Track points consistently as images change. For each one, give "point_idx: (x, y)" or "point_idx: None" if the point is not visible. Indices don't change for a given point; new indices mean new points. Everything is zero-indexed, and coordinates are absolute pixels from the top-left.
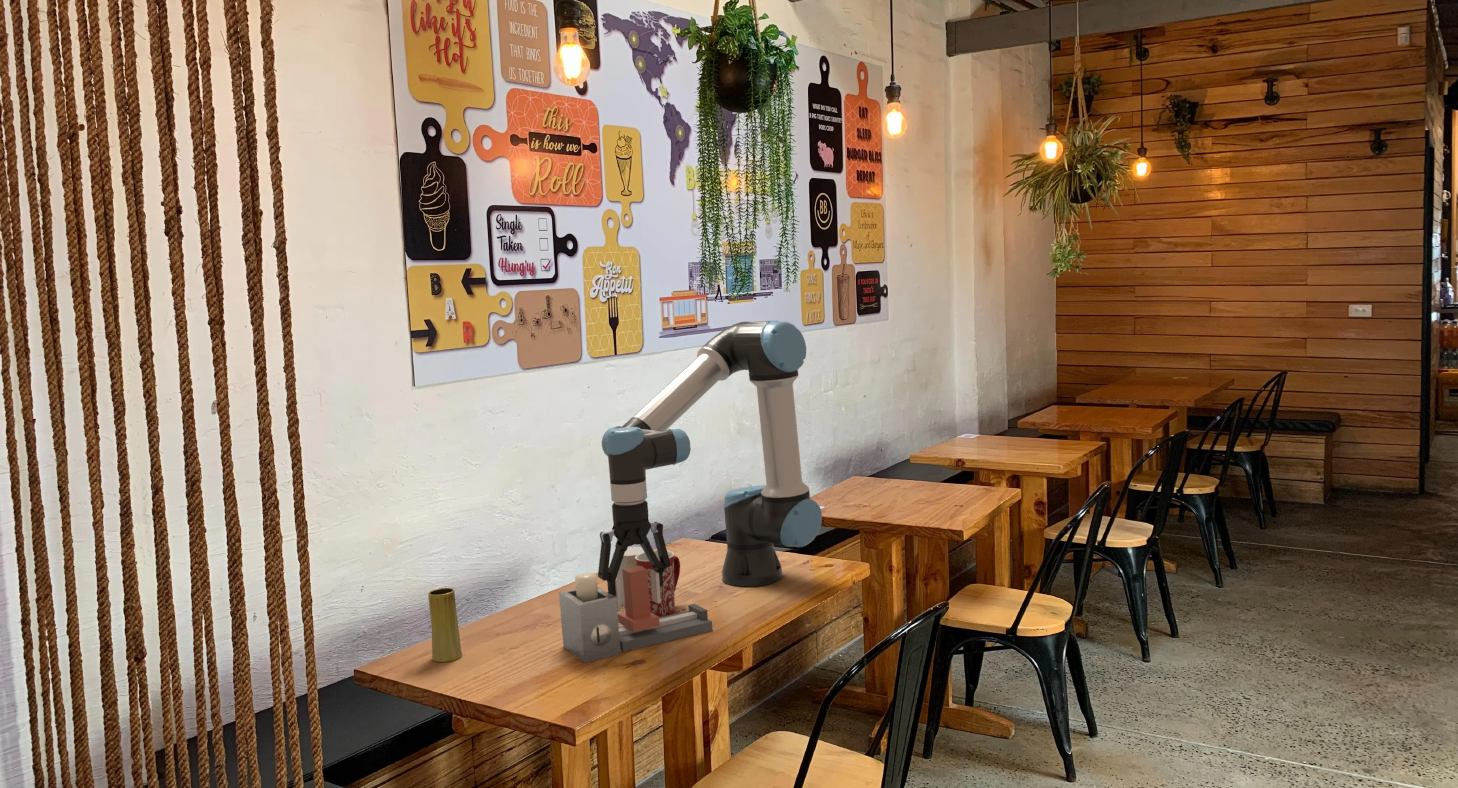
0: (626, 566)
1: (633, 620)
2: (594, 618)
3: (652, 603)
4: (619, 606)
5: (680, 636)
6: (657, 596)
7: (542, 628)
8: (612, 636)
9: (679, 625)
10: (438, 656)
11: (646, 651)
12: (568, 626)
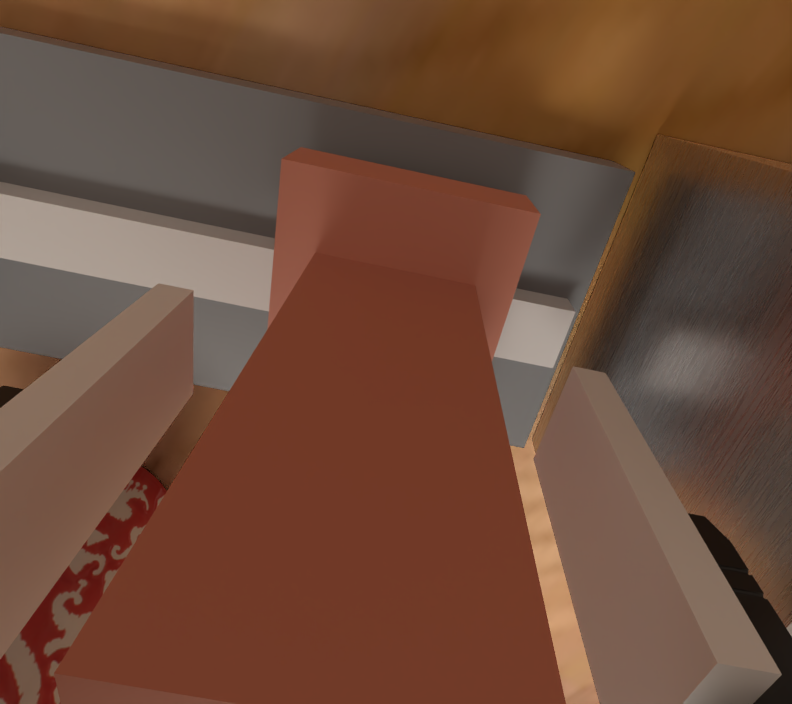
0: None
1: (496, 259)
2: None
3: (119, 527)
4: (605, 399)
5: (185, 67)
6: (159, 320)
7: (571, 672)
8: (786, 166)
9: (128, 142)
10: None
11: (517, 28)
12: None
